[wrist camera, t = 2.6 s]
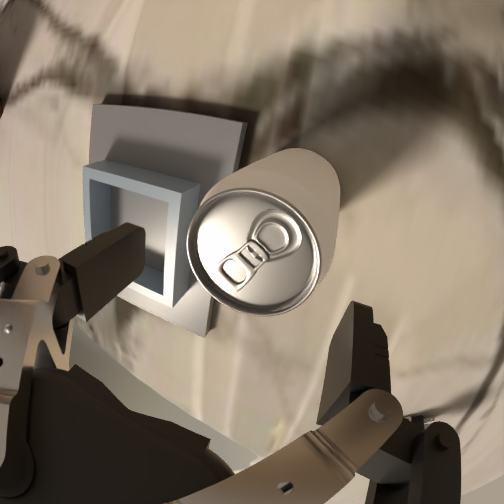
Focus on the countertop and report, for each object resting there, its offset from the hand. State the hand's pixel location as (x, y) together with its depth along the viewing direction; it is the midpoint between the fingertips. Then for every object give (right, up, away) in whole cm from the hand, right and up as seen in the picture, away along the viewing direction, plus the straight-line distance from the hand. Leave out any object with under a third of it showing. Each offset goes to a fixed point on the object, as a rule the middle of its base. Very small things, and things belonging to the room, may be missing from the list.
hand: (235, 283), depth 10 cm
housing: (-9, +4, +17) cm, 20 cm away
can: (+4, +6, +11) cm, 14 cm away
